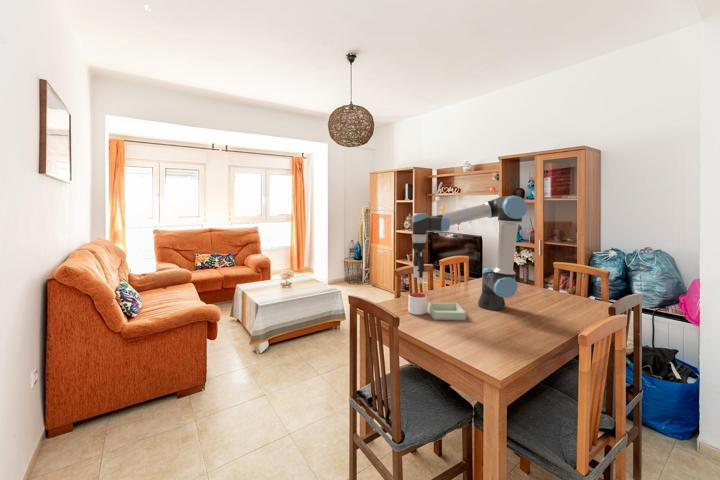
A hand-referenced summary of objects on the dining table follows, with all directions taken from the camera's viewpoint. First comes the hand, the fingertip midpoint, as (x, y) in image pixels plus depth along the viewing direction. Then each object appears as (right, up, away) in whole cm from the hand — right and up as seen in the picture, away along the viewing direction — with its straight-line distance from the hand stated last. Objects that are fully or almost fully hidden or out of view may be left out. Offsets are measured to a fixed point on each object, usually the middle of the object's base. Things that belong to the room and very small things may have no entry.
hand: (418, 280), depth 180 cm
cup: (0, -19, +2) cm, 19 cm away
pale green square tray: (+15, -19, -1) cm, 24 cm away
